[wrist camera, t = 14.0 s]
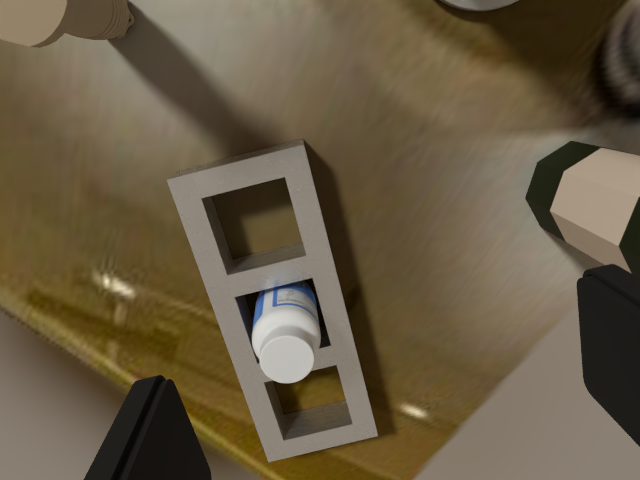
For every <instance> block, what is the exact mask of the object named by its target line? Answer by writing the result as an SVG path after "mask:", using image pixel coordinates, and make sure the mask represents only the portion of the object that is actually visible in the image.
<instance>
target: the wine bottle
mask: <svg viewBox="0 0 640 480" xmlns="http://www.w3.org/2000/svg"><path fill="white" fill-rule="evenodd" d="M526 200H527V202H528V204H529V206H530V208H531V210H532V212H533V213H534V215H535V217H536V219H537V221H538V223H539V225H540V226H541V227H542V228H544V229H545V230H547V231H549V232H550V233H552V234H554V235H555V236H557V237H559V238H560V239H562V240H564V241H565V242H567V243H569V244H570V245H572V246H574V247H575V248H577V249H579V250H580V251H582V252H584V253H585V254H587V255H589V256H590V257H592V258H594V259H595V260H597V261H599V262H600V263H602V264H604V265H609V264H615V265H617V266H619V267H621V268H623V269H624V270H626V271H628V272H630V273H631V274H633V275H635V276H637V277H638V278H640V155H635V154H631V153H626V152H622V151H617V150H613V149H608V148H604V147H599V146H594V145H589V144H584V143H579V142H575V141H570V142H569V143H567V144H565V145H564V146H562V147H561V148H559V149H558V150H556V151H554V152H553V153H551V154H550V155H548V156H547V157H545V158H543V159H542V160H540V161H539V162H537V165H536V168H535V171H534V174H533V177H532V180H531V183H530V186H529V189H528V192H527V195H526Z"/></svg>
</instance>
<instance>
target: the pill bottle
mask: <svg viewBox="0 0 640 480" xmlns="http://www.w3.org/2000/svg"><path fill="white" fill-rule="evenodd" d="M320 342H321V334H320V327H319V320H318V313H317V306H316V299H315V296H314V293H313V291H312V289H311V288H310V286H309V285H308V284H307V283H306V282H304V281H303V280H301V281H297V282H293V283H289V284H285V285H281V286H277V287H273V288H269V289H265V290H261V291H259V294H258V296H257V300H256V308H255V315H254V323H253V331H252V346H253V349H254V352H255V354H256V355H257V357H258V358H259V361H260V366H261V369H262V371H263V372H264V373H265V375H266V376H267V377H269V378H270V379H272V380H274V381H276V382H279V383H294V382H297V381H299V380H302V379H303V378H304V377H306V376H307V375H308V374H309V373H310V371H311V370H312V368H313V365H314V357H315V356H316V354H317V352H318V350H319V347H320Z"/></svg>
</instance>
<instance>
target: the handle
mask: <svg viewBox="0 0 640 480" xmlns="http://www.w3.org/2000/svg"><path fill="white" fill-rule="evenodd" d="M132 24H134V16H132V14H131V13H130V11H129V8H128V5H127V0H0V39H2V40H6V41H9V42H13V43H17V44H21V45H25V46H29V47H38V48H39V47H43V46H47V45H49V44H51V43H53V42H55V41H57V40H58V39H59V38H60V37H61V36H62V35H63V34H64V33H67V34H70V35H73V36H76V37H80V38H86V39H92V40H106V39H111V38H114V37H115V38H122V37H124V36H126V31H127V29H128V28H129V26H131V25H132Z"/></svg>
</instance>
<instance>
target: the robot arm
mask: <svg viewBox="0 0 640 480" xmlns="http://www.w3.org/2000/svg"><path fill="white" fill-rule="evenodd" d="M440 1H441V2H443V3H445V4H447V5H449V6H451V7H454V8H458V9H461V10H465V11H479V12H482V11H488V10H495V9H499V8H501V7H505V6H508V5H510V4H512V3H514V2H517V1H519V0H440ZM577 296H578V310H579V324H580V338H581V353H582V367H583V378H584V383H585V386H586V388H587V390H588V391H589V393H590V394H591V395H592V397H593V398H594V399H595V400H596V401H597V402H598V403H599V404H600V405H601V406H602V407H603V408H604V409H605V410H606V411H607V412H608V414H610V416H611V417H612V418H613V419H614V420H615V421H616V422H617V423H618V424H619V425H620V426H621V427H622V428H623V429H624V430H625V432H627V434H628V435H629V436H631V438H632V439H633V440H634V441H635V442H636V443H637V444H638V445H639V446H640V278H638V277H637V276H635V275H633V274H631V273H630V272H628V271H626V270H624V269H623V268H621V267H619V266H617V265H615V264H609V265H605V266H601V267H597V268H593V269H588V270H586V271H585V272H584V274H583V278H579V279H578V281H577ZM84 480H211V472H210V468H209V465H208V463H207V461H206V458H205V456H204V453H203V451H202V449H201V446H200V444H199V441H198V439H197V437H196V434H195V432H194V429H193V427H192V424H191V422H190V420H189V417H188V415H187V412H186V410H185V408H184V405H183V403H182V400H181V398H180V396H179V393H178V391H177V388H176V386H175V384H174V382H173V381H172V380H171V379H168V380H166V379H165V378H164V377H163V376H162V375H158V376H154V377H150V378H146V379H142V380H138V381H135V382H134V384H133V385H132V387H131V389H130V391H129V393H128V395H127V397H126V399H125V401H124V403H123V405H122V407H121V409H120V410H119V413H118V414H117V416H116V418H115V420H114V422H113V424H112V426H111V428H110V430H109V432H108V434H107V436H106V438H105V440H104V442H103V443H102V445H101V447H100V449H99V451H98V453H97V455H96V457H95V459H94V461H93V463H92V465H91V467H90V469H89V471H88V472H87V474H86V476H85V478H84Z"/></svg>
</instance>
